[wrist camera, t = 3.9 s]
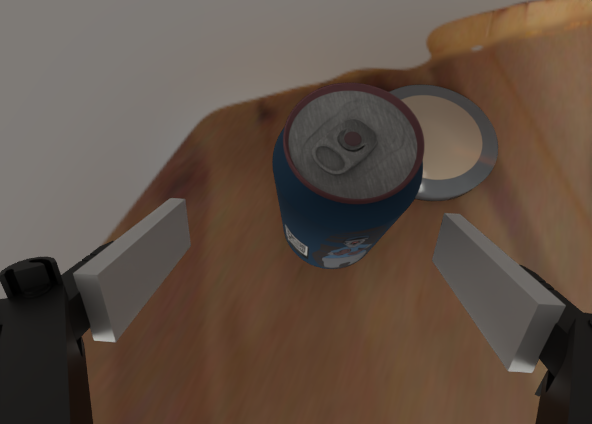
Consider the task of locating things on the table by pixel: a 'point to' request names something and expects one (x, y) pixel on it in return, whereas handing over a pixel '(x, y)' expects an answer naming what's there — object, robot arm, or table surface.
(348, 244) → the soda can
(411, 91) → the coaster
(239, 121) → the table surface
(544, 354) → the robot arm
